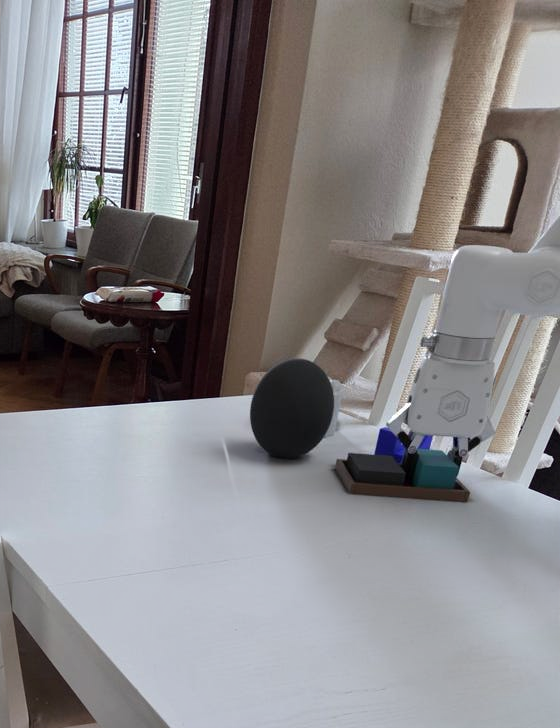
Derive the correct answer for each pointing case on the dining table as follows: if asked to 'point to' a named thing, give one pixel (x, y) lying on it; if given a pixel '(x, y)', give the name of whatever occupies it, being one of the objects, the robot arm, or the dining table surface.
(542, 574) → the dining table surface
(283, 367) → the decorative egg
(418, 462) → the teal rectangular block
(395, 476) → the back pad
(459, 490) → the frame
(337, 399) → the lumpy-topped squat cylinder
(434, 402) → the robot arm
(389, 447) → the blue curved cradle
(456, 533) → the dining table surface
